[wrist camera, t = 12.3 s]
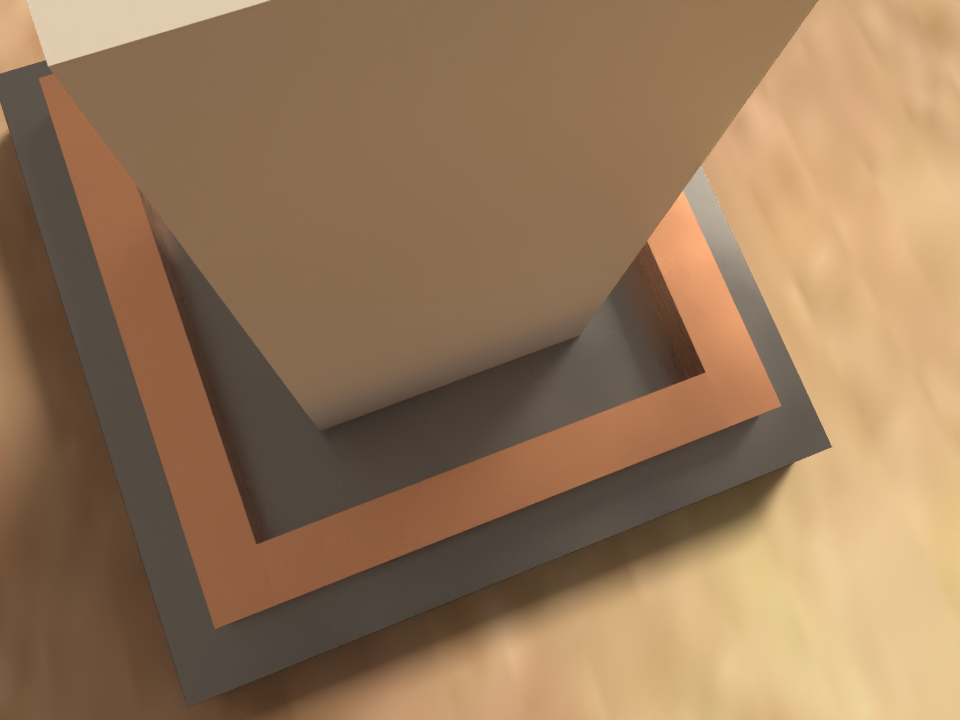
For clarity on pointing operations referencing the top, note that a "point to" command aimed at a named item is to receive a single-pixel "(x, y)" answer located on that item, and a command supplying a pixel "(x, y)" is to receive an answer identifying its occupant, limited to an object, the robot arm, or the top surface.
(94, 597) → the top surface
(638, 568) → the top surface
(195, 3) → the sleeve
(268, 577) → the seat plate
